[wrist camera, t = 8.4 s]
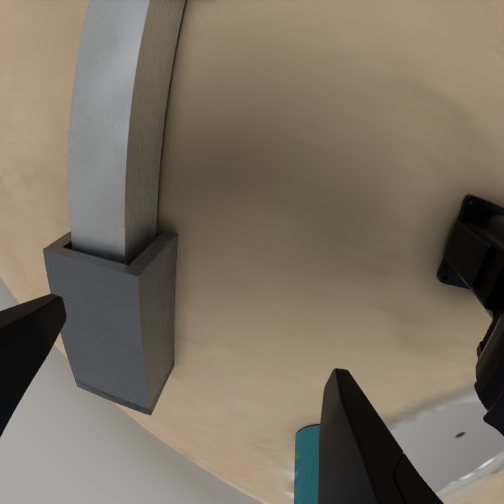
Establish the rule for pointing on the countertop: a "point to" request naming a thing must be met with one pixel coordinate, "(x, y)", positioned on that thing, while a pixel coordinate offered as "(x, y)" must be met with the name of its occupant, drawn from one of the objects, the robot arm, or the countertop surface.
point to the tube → (307, 466)
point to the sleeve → (117, 319)
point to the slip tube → (119, 124)
